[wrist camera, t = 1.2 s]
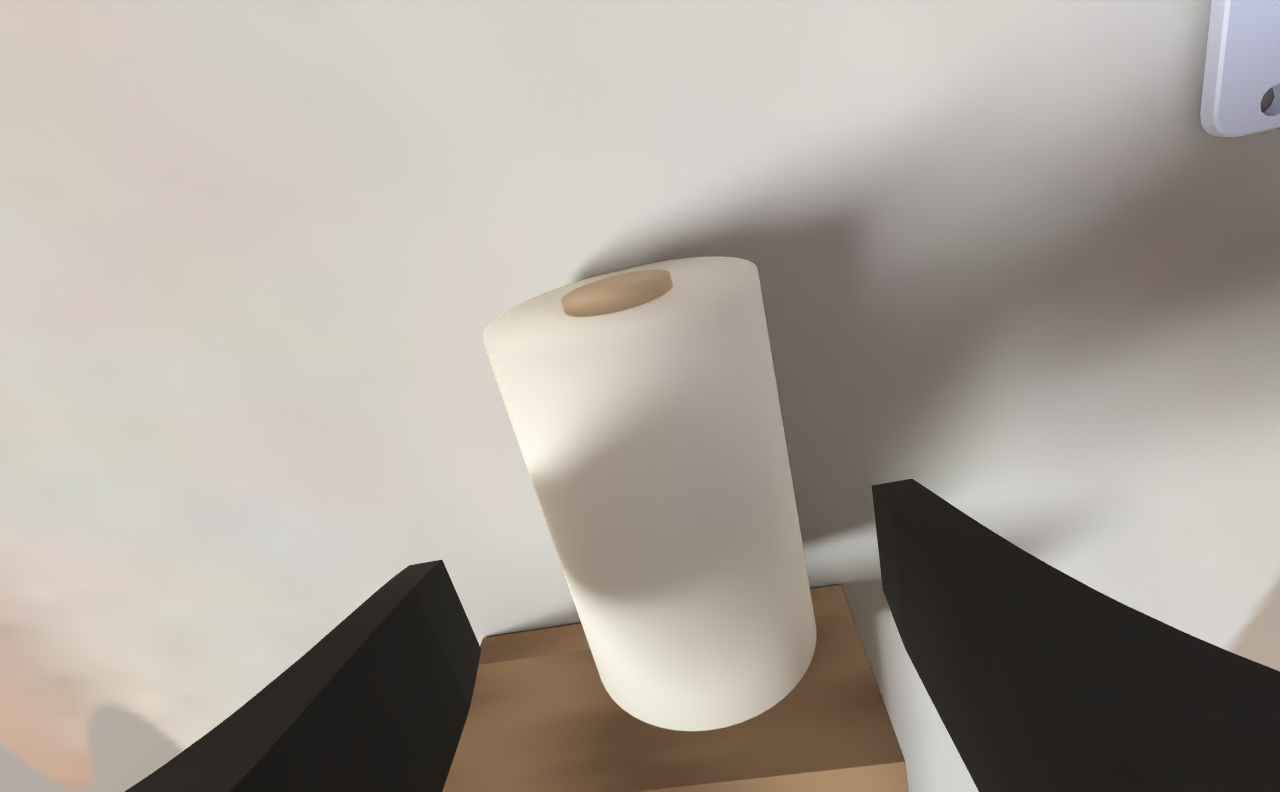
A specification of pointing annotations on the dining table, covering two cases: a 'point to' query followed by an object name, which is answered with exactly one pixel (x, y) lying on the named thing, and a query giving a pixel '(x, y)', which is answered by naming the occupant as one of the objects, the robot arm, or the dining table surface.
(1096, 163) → the dining table surface
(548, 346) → the roll
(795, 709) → the holder
